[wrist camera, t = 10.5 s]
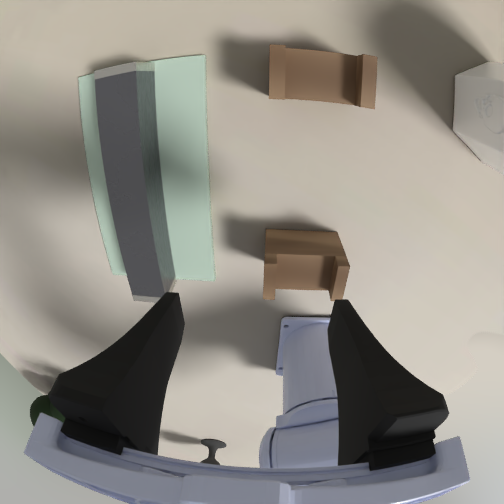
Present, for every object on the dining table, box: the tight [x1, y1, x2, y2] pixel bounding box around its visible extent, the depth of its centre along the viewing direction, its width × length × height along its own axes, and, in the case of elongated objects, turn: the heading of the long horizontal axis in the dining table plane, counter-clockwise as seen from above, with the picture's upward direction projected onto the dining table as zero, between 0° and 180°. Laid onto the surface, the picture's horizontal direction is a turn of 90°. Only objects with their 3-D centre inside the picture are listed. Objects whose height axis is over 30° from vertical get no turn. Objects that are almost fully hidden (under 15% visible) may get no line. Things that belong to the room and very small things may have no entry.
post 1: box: [269, 44, 377, 109], centre depth 15 cm, size 3×6×5 cm, turn 90°
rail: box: [94, 61, 177, 303], centre depth 20 cm, size 18×3×3 cm, turn 0°
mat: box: [78, 55, 216, 281], centre depth 21 cm, size 18×10×1 cm, turn 0°
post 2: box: [263, 229, 350, 301], centre depth 21 cm, size 3×6×5 cm, turn 90°
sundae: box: [200, 439, 226, 465], centre depth 41 cm, size 7×7×15 cm
